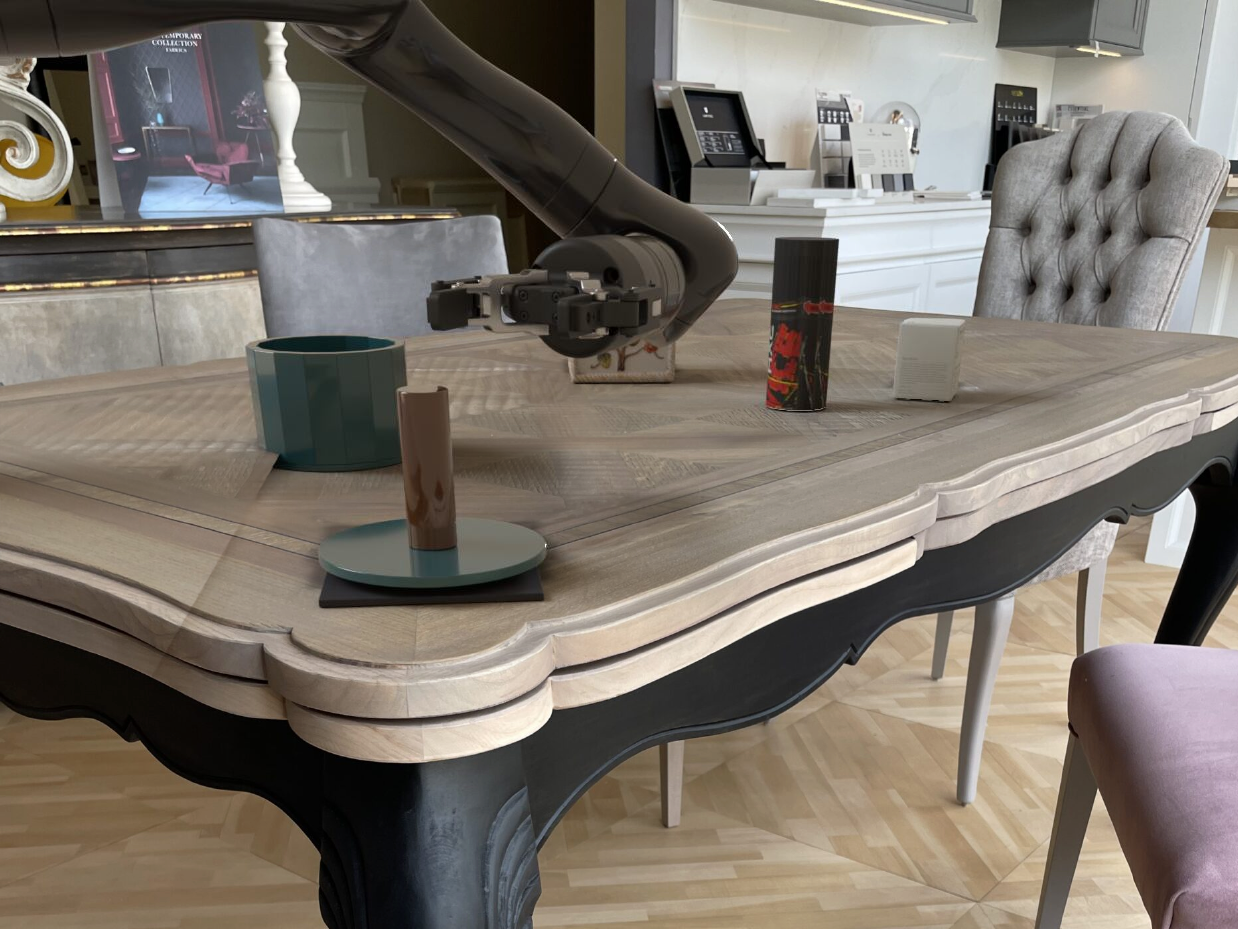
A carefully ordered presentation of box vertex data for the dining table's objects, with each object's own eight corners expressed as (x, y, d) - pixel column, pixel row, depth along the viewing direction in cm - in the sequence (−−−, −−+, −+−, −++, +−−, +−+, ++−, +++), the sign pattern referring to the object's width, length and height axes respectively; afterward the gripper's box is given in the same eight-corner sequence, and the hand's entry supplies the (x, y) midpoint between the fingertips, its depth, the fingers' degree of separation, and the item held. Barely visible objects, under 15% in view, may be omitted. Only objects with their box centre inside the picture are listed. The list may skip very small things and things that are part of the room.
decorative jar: (666, 368, 146) (669, 195, 138) (676, 383, 136) (681, 198, 127) (564, 368, 145) (561, 194, 137) (567, 384, 135) (564, 197, 127)
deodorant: (837, 409, 122) (851, 240, 115) (784, 413, 120) (795, 240, 113) (806, 400, 127) (817, 236, 120) (754, 404, 125) (763, 237, 118)
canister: (251, 473, 95) (235, 354, 91) (271, 442, 105) (257, 335, 101) (411, 470, 96) (402, 353, 92) (414, 440, 107) (406, 333, 103)
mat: (319, 607, 66) (318, 600, 66) (336, 547, 77) (335, 541, 77) (543, 600, 68) (543, 593, 68) (531, 542, 78) (530, 536, 78)
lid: (273, 583, 69) (249, 399, 64) (393, 527, 80) (379, 366, 75) (485, 610, 65) (475, 416, 60) (581, 548, 76) (579, 379, 71)
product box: (951, 403, 126) (960, 325, 123) (890, 399, 128) (898, 322, 124) (957, 394, 131) (967, 319, 128) (899, 390, 133) (907, 316, 130)
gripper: (505, 232, 88) (388, 242, 75) (697, 238, 84) (608, 250, 70) (509, 346, 92) (397, 374, 78) (693, 357, 87) (608, 390, 74)
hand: (497, 315), depth 74 cm, fingers open, 8 cm apart
